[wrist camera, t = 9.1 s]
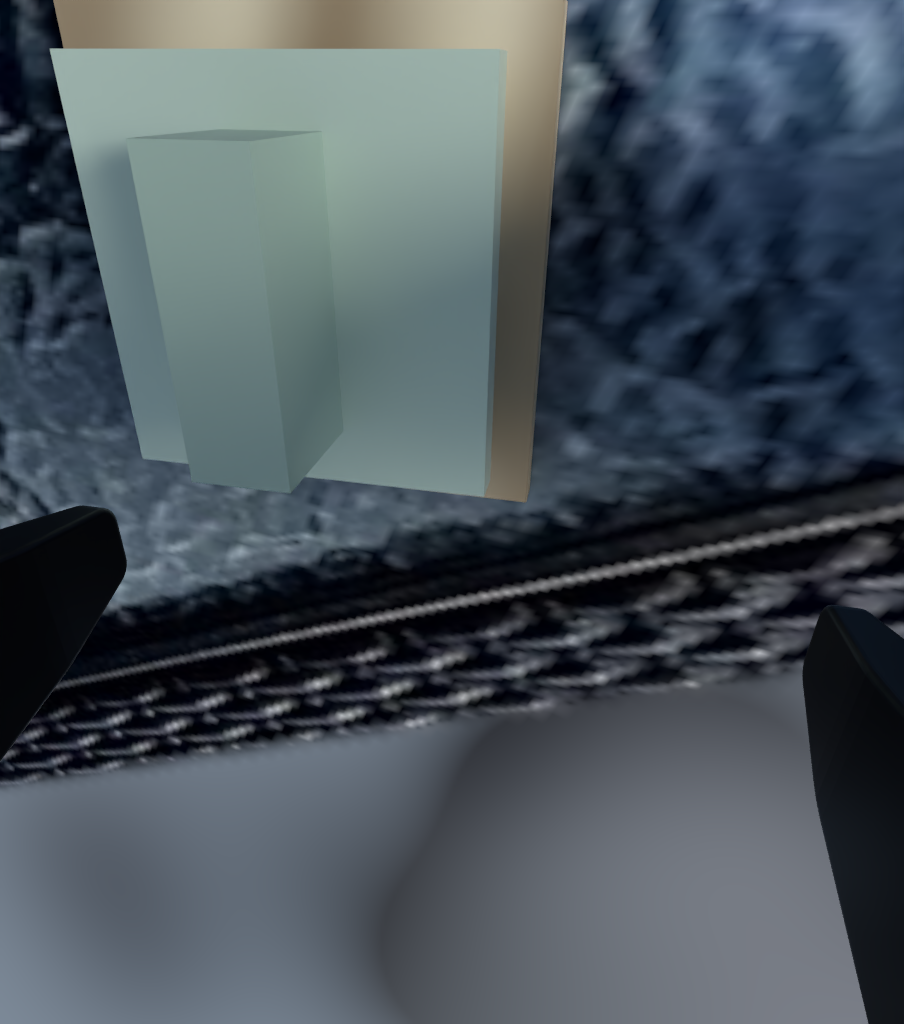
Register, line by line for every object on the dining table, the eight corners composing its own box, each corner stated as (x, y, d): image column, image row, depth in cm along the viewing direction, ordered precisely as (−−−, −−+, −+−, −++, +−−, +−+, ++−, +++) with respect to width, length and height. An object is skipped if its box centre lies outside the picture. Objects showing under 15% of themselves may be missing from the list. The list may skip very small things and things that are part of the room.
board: (567, 1, 16) (564, -3, 15) (529, 489, 22) (526, 502, 21) (75, 3, 18) (53, 0, 17) (165, 447, 24) (151, 458, 23)
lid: (513, 52, 16) (464, 38, 11) (495, 467, 21) (456, 570, 16) (100, 52, 18) (-84, 39, 13) (175, 433, 23) (62, 519, 18)
